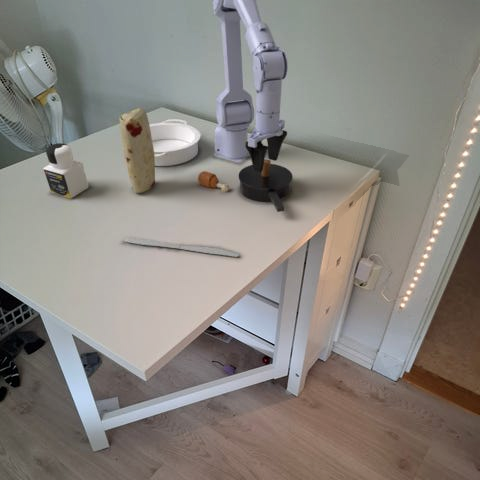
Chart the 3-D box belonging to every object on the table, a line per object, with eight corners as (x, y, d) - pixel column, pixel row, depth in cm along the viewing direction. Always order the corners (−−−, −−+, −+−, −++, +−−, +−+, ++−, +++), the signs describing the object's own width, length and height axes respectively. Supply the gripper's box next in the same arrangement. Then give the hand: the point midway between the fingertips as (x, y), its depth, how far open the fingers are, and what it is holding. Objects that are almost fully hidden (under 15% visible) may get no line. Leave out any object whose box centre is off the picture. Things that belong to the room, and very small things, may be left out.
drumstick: (195, 186, 120) (194, 172, 117) (203, 181, 122) (203, 167, 119) (224, 195, 116) (224, 182, 113) (232, 189, 118) (232, 176, 116)
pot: (147, 131, 147) (145, 116, 144) (211, 136, 144) (210, 121, 141) (113, 169, 127) (110, 153, 124) (187, 175, 124) (186, 159, 121)
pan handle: (267, 194, 111) (267, 190, 111) (274, 193, 112) (274, 189, 111) (277, 212, 105) (277, 208, 104) (284, 211, 105) (284, 207, 105)
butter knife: (128, 234, 102) (122, 240, 99) (240, 251, 97) (237, 258, 95) (128, 236, 102) (123, 242, 100) (240, 253, 98) (237, 260, 95)
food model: (147, 198, 115) (134, 119, 101) (125, 194, 116) (109, 116, 102) (163, 181, 122) (153, 105, 108) (142, 178, 123) (129, 102, 109)
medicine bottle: (50, 193, 117) (36, 148, 109) (69, 181, 121) (57, 138, 113) (70, 199, 115) (57, 154, 106) (89, 187, 119) (78, 143, 111)
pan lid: (228, 183, 114) (227, 165, 110) (256, 162, 122) (256, 145, 119) (275, 197, 108) (276, 179, 105) (301, 175, 117) (303, 157, 113)
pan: (230, 194, 116) (230, 180, 113) (256, 175, 124) (256, 161, 121) (273, 208, 111) (274, 194, 108) (297, 187, 119) (299, 173, 116)
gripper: (267, 123, 97) (264, 180, 107) (297, 103, 106) (292, 158, 115) (240, 116, 100) (240, 173, 109) (271, 98, 109) (269, 152, 118)
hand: (265, 165), depth 113 cm, fingers open, 7 cm apart
